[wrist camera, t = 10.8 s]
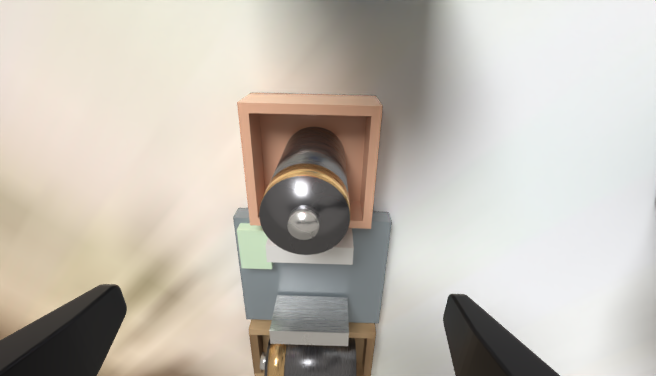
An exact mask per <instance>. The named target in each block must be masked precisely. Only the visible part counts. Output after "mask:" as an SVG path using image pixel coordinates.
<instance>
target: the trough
mask: <svg viewBox="0 0 656 376" xmlns="http://www.w3.org/2000/svg"><path fill="white" fill-rule="evenodd" d="M271 321H272V320H258V319H251V323H250V326H249V336H250V344H251V351H252V359H253V367H254V374H255V376H264V372H265V370H260V358H261V354H262V352H267V347H268V342H269V339H270V332H269V330H270V326H271ZM348 323H349V338H355V344H356V376H371V368H372V360H373V352H374V344H375V336H376V330H375V323H355V322H348Z"/></svg>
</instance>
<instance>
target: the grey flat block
mask: <svg viewBox="0 0 656 376" xmlns="http://www.w3.org/2000/svg"><path fill="white" fill-rule="evenodd" d="M233 219H234V227H235V235H236V242H237V250H238V258H239V265H240V273H241V280H242V288H243V296H244V303H245V311H246V319H258V320H272V317H273V312H274V308H275V303H276V298H277V295H288V296H321V297H347V301H348V322H355V323H379V316H380V309H381V301H382V293H383V285H384V277H385V270H386V262H387V254H388V246H389V239H390V231H391V223H392V222H391V218H390V215H389V212H373V213H372V223H371V229H363V228H348V231H347V233H346V235H345V236H344V238H343V239H342V240H341V241H340V242H339V243H338V244H337V245H336V246H334V247H333V248H331V249H329V250H327V251H325V252H322V253H319V254H313V255H299V254H294V253H291V252H288V251H285V250H283V249H281V248H280V247H278V246H277V245H275V244H274V243H273V242H272V241H271V240H270V239H269V238H268V237H267V236H266V234H265V233H264V231H263V229H262V227H261V226H257V225H250V220H249V210H248V208H238V210H237V212H236V213H235V215H234V217H233Z"/></svg>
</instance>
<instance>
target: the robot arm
mask: <svg viewBox="0 0 656 376" xmlns="http://www.w3.org/2000/svg"><path fill="white" fill-rule="evenodd" d="M126 311H127V306H126V303H125V300H124V297H123V295H122V292H121V289H120V287H119V286H118V285H115V284H102V285H99V286H97V287H95V288H93V289H92V290H90V291H88V292H86V293H84V294H83V295H81V296H79V297H77V298H75V299H74V300H72V301H70V302H68V303H67V304H65V305H63V306H61V307H59V308H58V309H56V310H54V311H52V312H50V313H49V314H47V315H45V316H43V317H41V318H40V319H38V320H36V321H34V322H32V323H31V324H29V325H27V326H25V327H23V328H22V329H20V330H18V331H16V332H14V333H13V334H11V335H9V336H7V337H6V338H4V339H2V340H0V376H97V374H98V372H99V370H100V368H101V366H102V364H103V362H104V360H105V358H106V356H107V354H108V351H109V349H110V347H111V345H112V343H113V341H114V339H115V337H116V334H117V332H118V330H119V328H120V326H121V324H122V322H123V319H124V317H125V315H126ZM443 321H444V327H445V331H446V336H447V340H448V344H449V349H450V353H451V358H452V362H453V366H454V371H455V375H456V376H560V375H559V374H558V373H556V372H555V371H554V370H553V369H552V368H551V367H549V366H548V365H547V364H546V363H545V362H544V361H542V360H541V359H540V358H539V357H538V356H537V355H536V354H534V353H533V352H532V351H531V350H530V349H529V348H527V347H526V346H525V345H524V344H523V343H522V342H520V341H519V340H518V339H517V338H516V337H515V336H513V335H512V334H511V333H510V332H509V331H508V330H506V329H505V328H504V327H503V326H502V325H501V324H500V323H498V322H497V321H496V320H495V319H494V318H493V317H491V316H490V315H489V314H488V313H487V312H486V311H484V310H483V309H482V308H481V307H480V306H479V305H477V304H476V303H475V302H474V301H473V300H472V299H470V298H469V297H468V296H467V295H465V294H450V295H449V297H448V300H447V304H446V308H445V312H444V317H443Z"/></svg>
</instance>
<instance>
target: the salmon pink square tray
mask: <svg viewBox="0 0 656 376" xmlns="http://www.w3.org/2000/svg"><path fill="white" fill-rule="evenodd" d="M237 105H238V115H239V125H240V134H241V144H242V153H243V163H244V172H245V182H246V191H247V201H248V210H249V220H250V225H257V226H261V224H260V219H259V209H260V204H261V201H262V198H263V196H264V194H265V191H266V189H267V187H268V185H269V183H270V181H271V179H272V177H273V174H274V172H275V170H276V167H277V165H278V163H279V160H280V158H281V156H282V154H283V151H284V149H285V147H286V144H287V142H288V141H289V139H290V138H291V137H292V135H293V134H295V133H296V132H297V131H299V130H301V129H303V128H307V127H321V128H325V129H327V130H329V131H331V132H332V133H334V134H335V135H336V136H337V137H338V138H339V139H340V141H341V142H342V145H343V147H344V151H345V160H346V172H347V184H348V195H349V203H350V224H349V228H363V229H371V223H372V213H373V203H374V192H375V182H376V171H377V161H378V150H379V140H380V129H381V119H382V108H383V106H382V104H381V103H380V101H379V100H378V98H377V97H376V96H369V95H328V94H287V93H250V94H248V95H247V96H246V97H244V98H243V99H241V100H240V101H239V102H237Z"/></svg>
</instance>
